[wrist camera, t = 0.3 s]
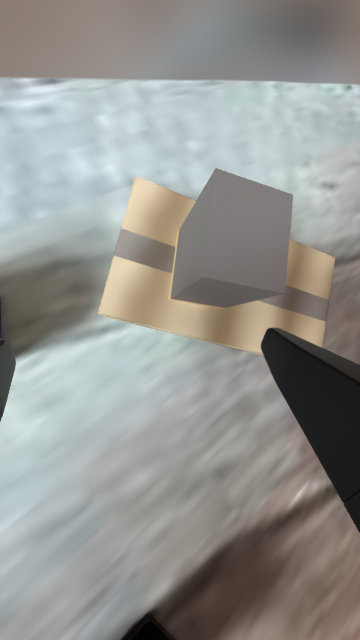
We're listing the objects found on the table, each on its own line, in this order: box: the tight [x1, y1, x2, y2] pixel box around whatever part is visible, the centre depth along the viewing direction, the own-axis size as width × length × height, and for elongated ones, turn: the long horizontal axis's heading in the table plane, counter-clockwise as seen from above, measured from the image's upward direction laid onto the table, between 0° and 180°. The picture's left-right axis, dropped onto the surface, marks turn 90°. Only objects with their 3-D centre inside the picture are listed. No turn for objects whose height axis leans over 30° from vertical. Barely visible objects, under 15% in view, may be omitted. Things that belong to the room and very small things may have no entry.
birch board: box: [98, 176, 335, 356], centre depth 22 cm, size 22×12×3 cm, turn 77°
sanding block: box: [169, 168, 293, 309], centre depth 16 cm, size 6×5×8 cm
